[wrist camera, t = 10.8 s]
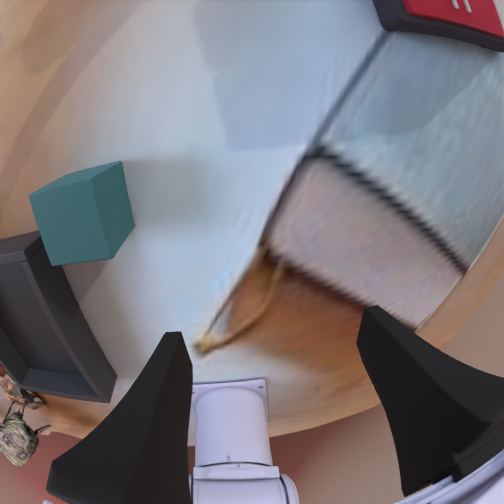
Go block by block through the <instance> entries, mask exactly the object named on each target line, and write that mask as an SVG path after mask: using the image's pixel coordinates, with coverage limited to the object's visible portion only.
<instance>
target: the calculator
mask: <svg viewBox="0 0 504 504" xmlns="http://www.w3.org/2000/svg"><path fill="white" fill-rule="evenodd" d="M373 2H374V5H375V8H376V11H377V14H378V17H379V20H380V23H381V25H382V27H383V28H384V29H386V30H393V31H406V32H415V33H423V34H430V35H437V36H443V37H448V38H453V39H458V40H463V41H467V42H471V43H475V44H479V45H480V46H481V47H485V48H488V49H492V50H495V51H498V52H504V0H373Z"/></svg>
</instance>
